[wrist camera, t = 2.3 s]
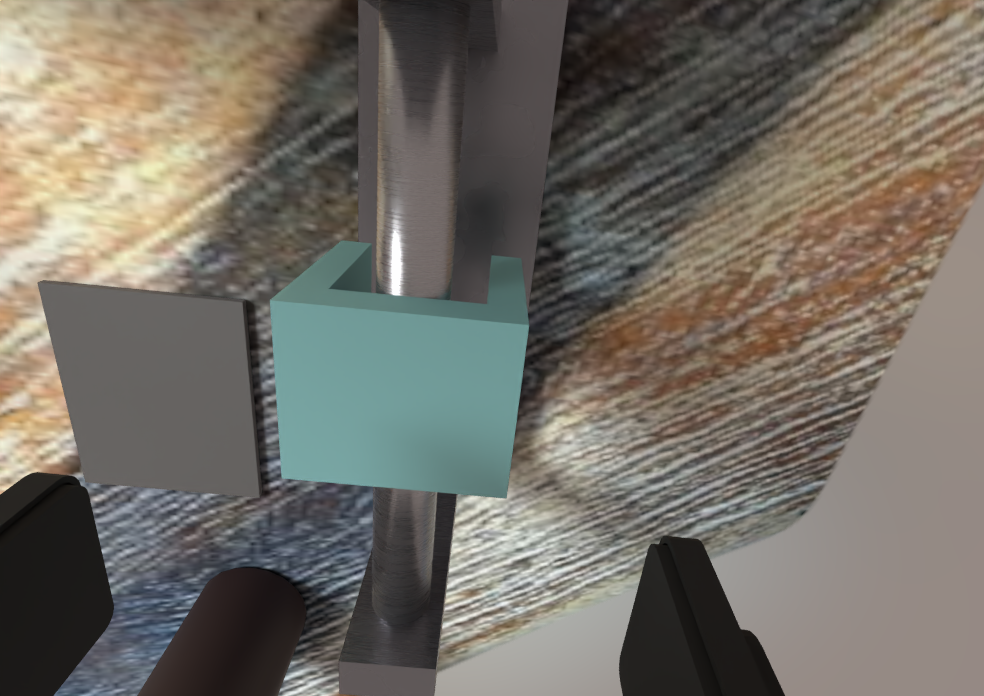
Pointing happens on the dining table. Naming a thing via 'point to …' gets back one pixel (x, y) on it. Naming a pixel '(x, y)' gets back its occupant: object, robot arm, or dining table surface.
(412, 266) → the stand
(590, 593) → the dining table surface
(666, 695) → the robot arm
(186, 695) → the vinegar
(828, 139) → the dining table surface
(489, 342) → the teal u-channel
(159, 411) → the mat
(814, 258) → the dining table surface
